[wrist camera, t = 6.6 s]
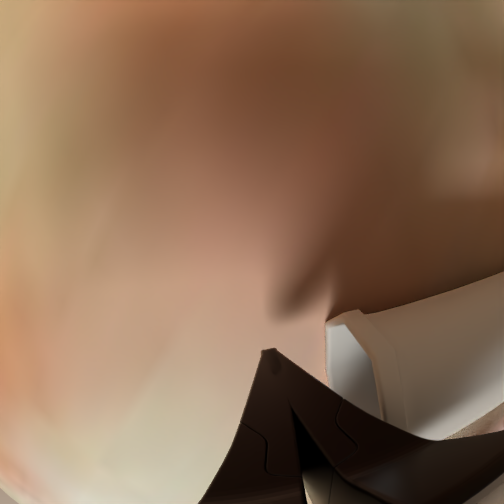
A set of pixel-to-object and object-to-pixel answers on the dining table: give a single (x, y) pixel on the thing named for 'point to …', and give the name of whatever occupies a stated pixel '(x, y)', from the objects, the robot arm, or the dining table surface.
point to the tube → (423, 359)
